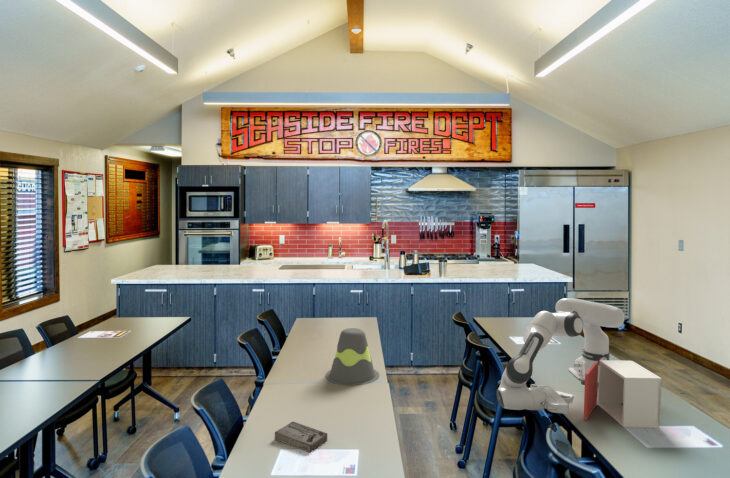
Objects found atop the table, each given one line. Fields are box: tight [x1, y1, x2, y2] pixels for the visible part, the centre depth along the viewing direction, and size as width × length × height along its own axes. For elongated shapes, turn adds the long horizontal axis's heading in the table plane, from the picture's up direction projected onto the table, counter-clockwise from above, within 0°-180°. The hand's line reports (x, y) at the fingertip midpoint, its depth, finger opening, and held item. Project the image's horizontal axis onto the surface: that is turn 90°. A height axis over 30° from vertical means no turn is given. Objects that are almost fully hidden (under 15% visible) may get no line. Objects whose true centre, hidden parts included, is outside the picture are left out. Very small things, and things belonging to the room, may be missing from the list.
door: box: [580, 361, 599, 421], centre depth 201 cm, size 21×3×19 cm, turn 143°
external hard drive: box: [555, 390, 574, 399], centre depth 215 cm, size 2×8×12 cm
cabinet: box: [597, 359, 662, 429], centre depth 197 cm, size 22×14×20 cm, turn 178°
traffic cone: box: [325, 327, 380, 386], centre depth 243 cm, size 28×28×24 cm
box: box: [274, 421, 328, 453], centre depth 175 cm, size 11×17×3 cm, turn 58°
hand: (571, 399), depth 194 cm, fingers closed
